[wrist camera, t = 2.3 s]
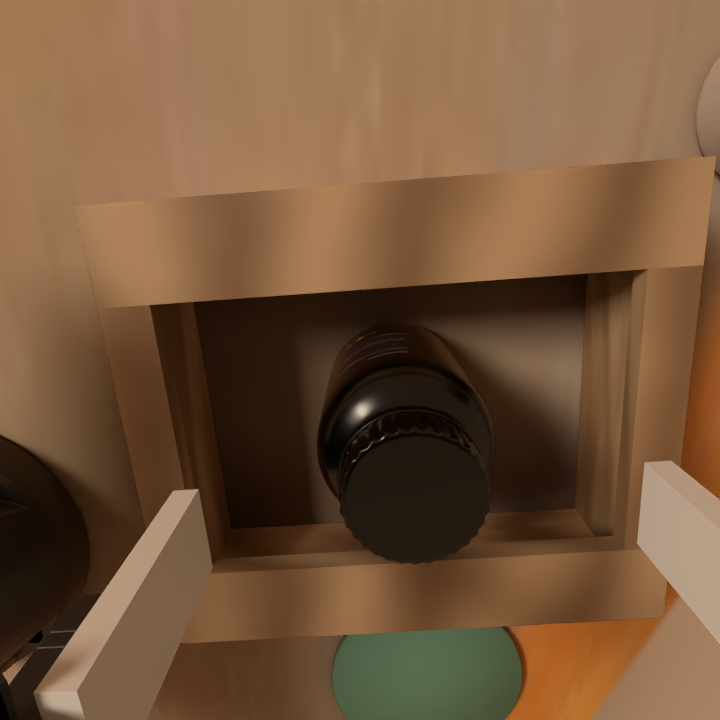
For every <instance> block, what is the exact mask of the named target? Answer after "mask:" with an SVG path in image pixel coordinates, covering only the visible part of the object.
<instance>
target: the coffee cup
mask: <svg viewBox="0 0 720 720" xmlns="http://www.w3.org/2000/svg"><path fill="white" fill-rule="evenodd" d="M696 133H697V137H698V141H699V145H700V148H701V150H702V153H703V155H704V157H709V156H716V162H715V172H716V173H717V174H719V175H720V56H719V58H718V59H717V60H716V62H715V63H714V65H713V66H712V68H711V70H710V72H709V74H708V76H707V77H706V79H705V81H704V84H703V87H702V90H701V93H700V96H699V99H698V105H697V111H696Z"/></svg>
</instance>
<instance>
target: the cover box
mask: <svg viewBox="0 0 720 720" xmlns="http://www.w3.org/2000/svg"><path fill="white" fill-rule="evenodd" d="M715 162H716V156H709V157H696V158H683V159H670V160H658V161H645V162H632V163H619V164H606V165H593V166H581V167H568V168H555V169H542V170H529V171H516V172H503V173H491V174H478V175H465V176H452V177H439V178H426V179H414V180H401V181H388V182H375V183H362V184H349V185H336V186H324V187H311V188H298V189H285V190H272V191H259V192H246V193H234V194H221V195H208V196H195V197H182V198H169V199H157V200H144V201H131V202H118V203H105V204H92V205H79V206H74V207H75V212H76V216H77V221H78V225H79V230H80V234H81V239H82V243H83V248H84V252H85V257H86V261H87V266H88V270H89V275H90V280H91V284H92V289H93V293H94V298H95V302H96V307H97V311H98V316H99V320H100V325H101V329H102V334H103V338H104V343H105V347H106V352H107V356H108V361H109V366H110V370H111V375H112V379H113V384H114V388H115V393H116V397H117V402H118V406H119V411H120V415H121V420H122V424H123V429H124V433H125V438H126V442H127V447H128V451H129V456H130V461H131V465H132V470H133V474H134V479H135V483H136V488H137V492H138V497H139V501H140V506H141V510H142V515H143V519H144V524H145V528H146V529H147V528H148V527H149V525H150V524H151V522H152V521H153V519H154V518H155V516H156V515H157V514H158V512H159V511H160V509H161V508H162V506H163V505H164V503H165V502H166V501H167V499H168V498H169V496H170V495H171V493H172V492H173V491H177V490H193V489H199V494H200V500H201V505H202V511H203V516H204V522H205V527H206V533H207V538H208V543H209V549H210V554H211V560H212V565H213V568H212V570H211V572H210V575H209V577H208V579H207V582H206V584H205V586H204V589H203V591H202V593H201V596H200V598H199V600H198V603H197V605H196V607H195V610H194V612H193V614H192V617H191V619H190V621H189V624H188V626H187V628H186V631H185V633H184V635H183V637H182V640H181V642H180V644H185V643H204V642H222V641H241V640H259V639H278V638H297V637H315V636H334V635H352V634H371V633H390V632H408V631H427V630H445V629H464V628H483V627H501V626H520V625H538V624H557V623H576V622H594V621H613V620H631V619H650V618H663V614H664V606H665V597H666V588H667V579H666V578H665V577H664V576H663V575H662V573H661V572H660V571H659V570H658V568H657V567H656V566H655V565H654V564H653V562H652V561H651V560H650V559H649V558H648V556H647V555H646V554H645V553H644V551H643V550H642V549H641V548H640V547H639V545H638V544H637V538H638V528H639V517H640V506H641V495H642V484H643V473H644V463H645V462H658V461H672V462H674V463H675V464H676V465H677V466H678V467H681V458H682V449H683V441H684V432H685V423H686V415H687V406H688V397H689V388H690V380H691V371H692V362H693V354H694V345H695V336H696V328H697V319H698V310H699V301H700V293H701V284H702V275H703V267H704V258H705V249H706V241H707V232H708V223H709V215H710V206H711V197H712V188H713V180H714V171H715ZM586 273H587V285H586V304H585V323H584V343H583V362H582V381H581V401H580V420H579V439H578V459H577V478H576V497H575V509H559V510H542V511H526V512H509V513H492V514H487V515H486V517H485V524H484V525H483V526H482V527H481V528H480V529H479V532H478V535H477V536H475V537H474V538H472V539H471V541H470V543H469V544H468V545H467V546H465V547H463V548H461V549H460V550H459V551H458V552H457V553H456V554H451V555H449V556H448V557H446V558H445V559H443V560H435V561H434V562H432V563H420V564H417V565H414V564H410V563H405V564H400V563H398V562H396V561H387V560H386V559H384V558H383V557H381V556H376V555H374V554H373V553H372V552H371V550H368V549H366V548H363V546H362V545H361V543H360V541H358V540H356V539H354V538H353V536H352V532H351V531H350V530H349V529H348V528H347V527H346V526H345V522H342V523H325V524H308V525H291V526H275V527H258V528H241V529H231V525H230V519H229V513H228V507H227V501H226V495H225V489H224V483H223V477H222V471H221V465H220V459H219V453H218V447H217V441H216V435H215V429H214V423H213V417H212V411H211V405H210V399H209V393H208V387H207V381H206V375H205V369H204V363H203V357H202V351H201V345H200V339H199V333H198V327H197V321H196V315H195V308H194V302H198V301H212V300H226V299H239V298H253V297H267V296H281V295H295V294H309V293H323V292H336V291H350V290H364V289H378V288H392V287H406V286H420V285H433V284H447V283H461V282H475V281H489V280H503V279H517V278H530V277H544V276H558V275H572V274H586Z"/></svg>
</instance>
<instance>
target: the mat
mask: <svg viewBox="0 0 720 720" xmlns="http://www.w3.org/2000/svg"><path fill="white" fill-rule="evenodd" d="M332 679H333V690H334V695H335V698H336V701H337V704H338V706H339V708H340V709H341V711H342V713H343V714H344V716H345V717H346V718H347V720H504V719H505V718H506V717H507V716H508V714H509V713H510V712H511V710H512V708H513V707H514V705H515V703H516V701H517V699H518V697H519V693H520V690H521V686H522V666H521V661H520V657H519V654H518V651H517V649H516V646H515V644H514V642H513V640H512V638H511V636H510V635H509V633H508V631H507V630H506V629H505V628H504V627H503V626H501V627H483V628H464V629H445V630H427V631H408V632H390V633H371V634H352V635H345V636H344V638H343V639H342V641H341V643H340V645H339V647H338V649H337V652H336V655H335V658H334V665H333V675H332Z"/></svg>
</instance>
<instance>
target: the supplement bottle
mask: <svg viewBox="0 0 720 720" xmlns="http://www.w3.org/2000/svg"><path fill="white" fill-rule="evenodd" d="M317 455H318V461H319V466H320V469H321V472H322V475H323V477H324V479H325V482H326V484H327V485H328V487H329V489H330V490H331V492H332V493H333V494H334V496H335V497H336V498H337V499H338V500H339V502H340V505H341V506H340V513H341V515H342V517H343V518H344V519H345V526H346V527H347V528H348V529H349V530H350V531H351V532H352V536H353V538H354V539H356V540H358V541H360V543H361V545H362V546H363V548H366V549H368V550H371V552H372V553H373V554H374V555H376V556H381V557H383V558H384V559H386V560H387V561H396V562H398V563H400V564H405V563H410V564H414V565H417V564H420V563H432V562H434V561H435V560H443V559H445V558H446V557H448V556H449V555H451V554H456V553H457V552H458V551H459V550H460V549H461V548H463V547H465V546H467V545H468V544H469V543H470V541H471V539H472V538H474V537H475V536H477V535H478V532H479V529H480V528H481V527H482V526H483V525H484V524H485V517H486V515H487V514H488V513H489V511H490V508H489V502H490V501H491V498H492V495H491V492H490V487H491V480H490V478H489V474H490V471H491V468H492V465H493V460H494V455H495V433H494V427H493V423H492V420H491V417H490V414H489V412H488V410H487V408H486V406H485V404H484V402H483V400H482V399H481V397H480V395H479V394H478V392H477V391H476V389H475V388H474V386H473V385H472V383H471V382H470V380H469V379H468V377H467V376H466V374H465V373H464V371H463V370H462V368H461V367H460V365H459V364H458V362H457V361H456V359H455V358H454V356H453V355H452V353H451V352H450V351H449V349H448V348H447V347H446V346H445V344H444V343H443V342H442V341H441V340H440V339H438V338H437V337H436V336H435V335H433V334H432V333H431V332H429V331H427V330H425V329H423V328H421V327H419V326H416V325H413V324H408V323H401V322H389V323H382V324H378V325H374V326H372V327H369V328H367V329H365V330H363V331H361V332H360V333H358V334H356V335H355V336H354V337H353V338H351V339H350V340H349V341H348V342H347V343H346V344H345V346H344V347H343V348H342V349H341V351H340V352H339V354H338V356H337V358H336V360H335V362H334V364H333V367H332V370H331V374H330V378H329V382H328V387H327V392H326V396H325V401H324V405H323V410H322V414H321V419H320V423H319V428H318V437H317Z"/></svg>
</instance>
